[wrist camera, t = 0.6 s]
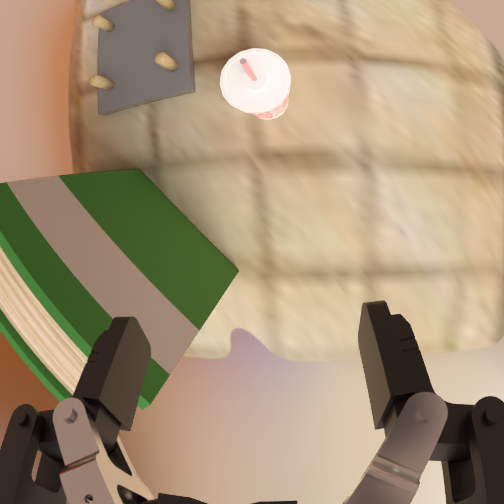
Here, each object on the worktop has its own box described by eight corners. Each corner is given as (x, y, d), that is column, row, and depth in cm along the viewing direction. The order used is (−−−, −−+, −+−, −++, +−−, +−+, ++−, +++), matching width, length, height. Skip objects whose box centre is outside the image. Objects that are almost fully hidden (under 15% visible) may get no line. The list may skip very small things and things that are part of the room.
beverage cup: (254, 135, 34) (222, 116, 21) (231, 89, 33) (188, 49, 20) (304, 112, 32) (302, 78, 19) (280, 67, 31) (263, 13, 18)
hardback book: (239, 270, 38) (150, 404, 15) (200, 307, 41) (100, 439, 18) (139, 169, 37) (-25, 187, 14) (108, 211, 39) (-44, 260, 17)
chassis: (105, 17, 32) (85, 5, 27) (189, -12, 30) (175, -30, 25) (104, 115, 36) (82, 111, 31) (195, 92, 34) (179, 82, 29)
